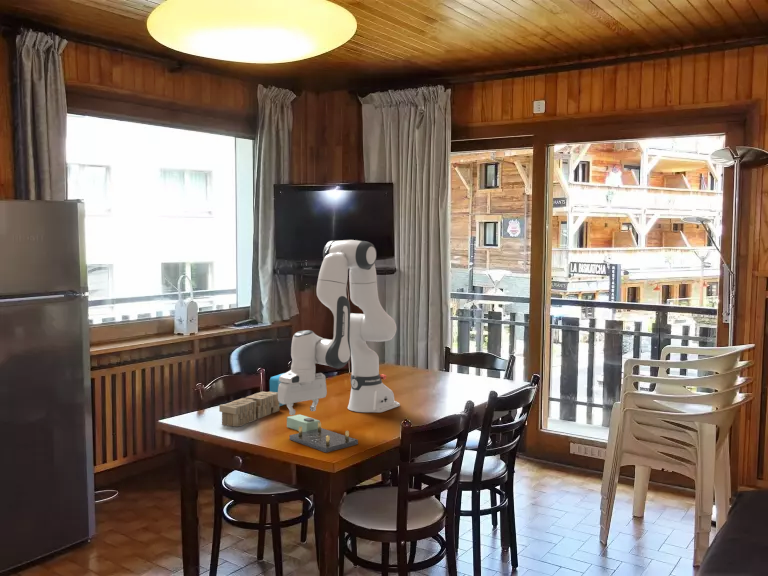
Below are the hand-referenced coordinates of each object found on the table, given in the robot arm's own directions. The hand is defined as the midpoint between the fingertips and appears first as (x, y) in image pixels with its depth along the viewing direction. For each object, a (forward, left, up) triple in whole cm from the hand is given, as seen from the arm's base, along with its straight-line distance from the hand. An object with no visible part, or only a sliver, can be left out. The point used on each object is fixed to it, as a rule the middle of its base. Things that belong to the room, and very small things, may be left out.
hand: (302, 412), depth 261 cm
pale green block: (-1, -1, -6) cm, 6 cm away
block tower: (+5, -27, -7) cm, 28 cm away
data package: (-18, -38, -6) cm, 42 cm away
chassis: (+4, +17, -6) cm, 19 cm away
